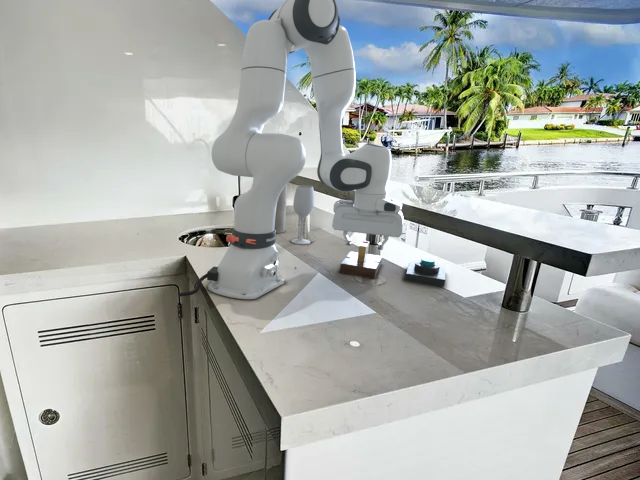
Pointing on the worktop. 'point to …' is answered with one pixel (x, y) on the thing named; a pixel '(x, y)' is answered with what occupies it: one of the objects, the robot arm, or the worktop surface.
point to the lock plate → (361, 265)
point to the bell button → (427, 262)
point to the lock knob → (363, 251)
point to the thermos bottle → (281, 212)
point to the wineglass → (303, 207)
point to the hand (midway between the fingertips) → (364, 247)
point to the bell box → (426, 274)
